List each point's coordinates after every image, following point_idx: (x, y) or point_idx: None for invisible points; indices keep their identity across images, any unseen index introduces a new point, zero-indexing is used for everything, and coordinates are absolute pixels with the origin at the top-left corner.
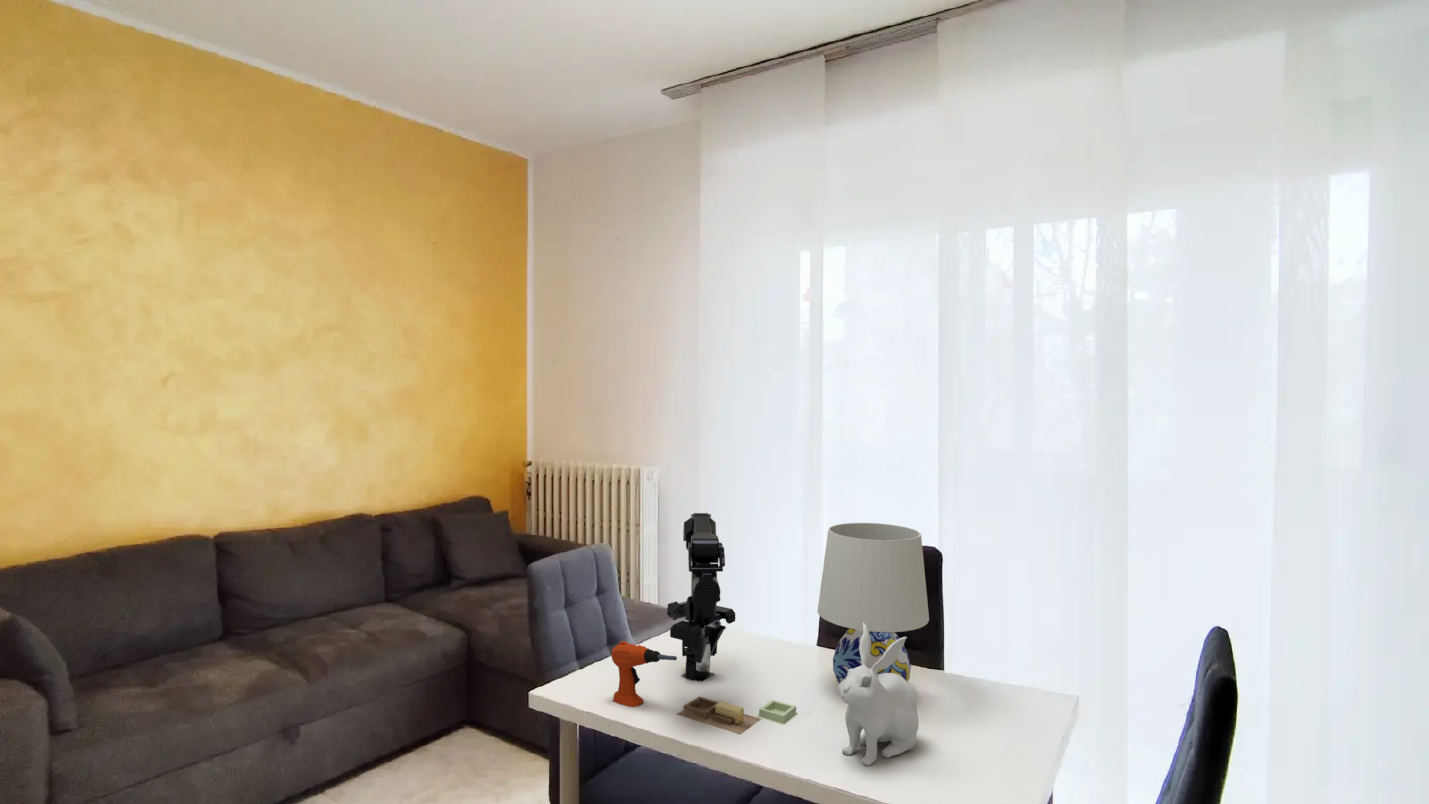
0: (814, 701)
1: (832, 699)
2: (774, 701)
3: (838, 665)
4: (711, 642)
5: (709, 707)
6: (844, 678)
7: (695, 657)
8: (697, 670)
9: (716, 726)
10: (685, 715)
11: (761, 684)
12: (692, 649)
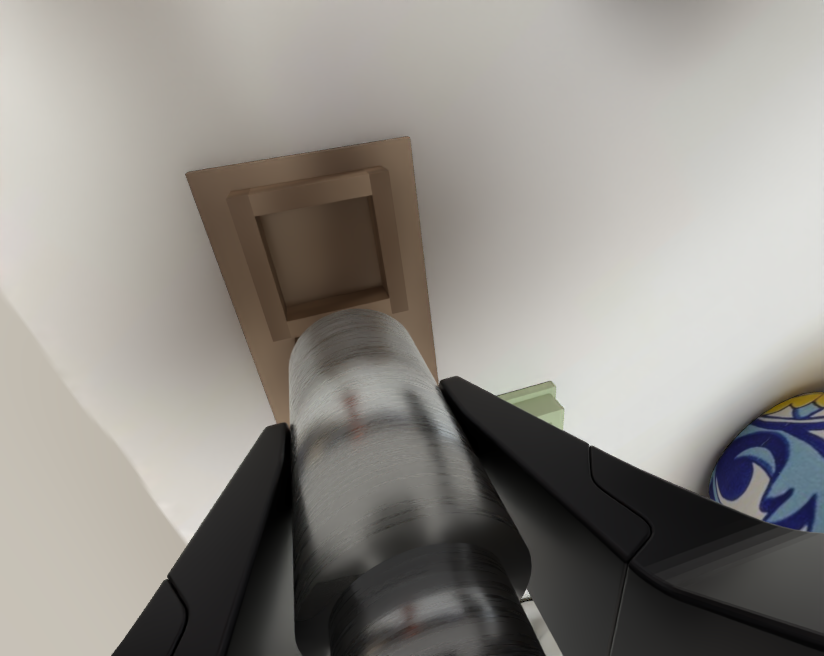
0: (659, 420)
1: (691, 437)
2: (555, 422)
3: (816, 506)
4: (540, 583)
5: (377, 249)
6: (759, 505)
7: (243, 469)
8: (289, 363)
9: (267, 394)
10: (217, 225)
11: (721, 213)
12: (176, 562)
